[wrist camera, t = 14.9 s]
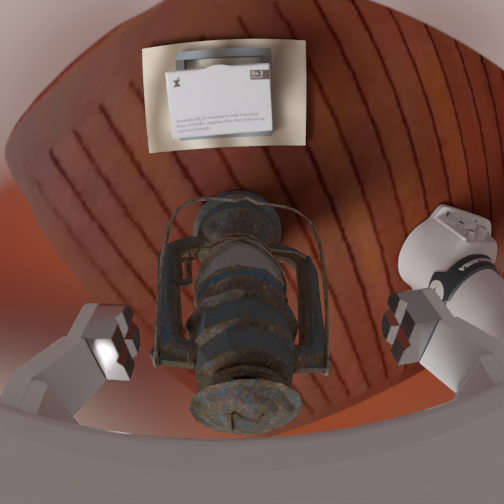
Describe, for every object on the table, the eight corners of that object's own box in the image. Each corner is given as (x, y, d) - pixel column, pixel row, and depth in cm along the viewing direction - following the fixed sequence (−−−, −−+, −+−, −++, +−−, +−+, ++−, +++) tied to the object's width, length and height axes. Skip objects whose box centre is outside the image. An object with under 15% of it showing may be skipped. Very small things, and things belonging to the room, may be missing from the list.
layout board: (303, 42, 32) (309, 38, 29) (303, 143, 39) (309, 148, 36) (145, 50, 31) (137, 47, 28) (152, 150, 38) (145, 156, 35)
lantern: (170, 263, 47) (125, 446, 21) (173, 173, 40) (81, 333, 14) (293, 274, 49) (343, 451, 23) (313, 188, 42) (421, 349, 16)
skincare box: (190, 124, 35) (166, 144, 22) (186, 78, 32) (159, 71, 20) (258, 119, 36) (274, 135, 23) (256, 72, 33) (270, 60, 20)
